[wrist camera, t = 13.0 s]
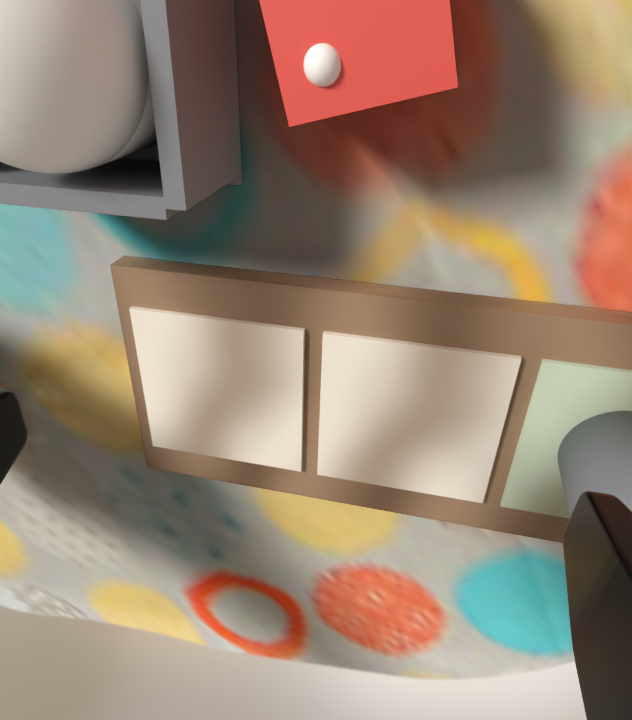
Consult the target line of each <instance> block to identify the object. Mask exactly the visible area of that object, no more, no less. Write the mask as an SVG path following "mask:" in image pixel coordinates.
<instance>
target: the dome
mask: <svg viewBox="0 0 632 720" xmlns="http://www.w3.org/2000/svg"><path fill="white" fill-rule="evenodd" d="M155 144H157V136H156V128H155V120H154V111H153V103H152V95H151V86H150V78H149V69H148V61H147V53H146V44H145V36H144V28H143V19H142V11H141V3H140V0H0V162H2V163H5V164H7V165H10V166H13V167H16V168H20V169H23V170H28V171H33V172H40V173H53V174H61V173H74V172H80V171H84V170H88V169H91V168H94V167H97V166H100V165H103V164H106V163H108V162H111V161H114V160H117V159H119V158H122V157H125V156H127V155H130V154H133V153H135V152H138V151H141V150H144V149H146V148H149V147H151V146H153V145H155Z"/></svg>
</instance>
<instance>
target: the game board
mask: <svg viewBox="0 0 632 720" xmlns="http://www.w3.org/2000/svg"><path fill="white" fill-rule="evenodd" d="M110 266H111V272H112V277H113V283H114V288H115V294H116V299H117V305H118V310H119V315H120V321H121V326H122V332H123V337H124V343H125V348H126V353H127V359H128V364H129V370H130V375H131V381H132V386H133V392H134V397H135V402H136V408H137V413H138V419H139V424H140V430H141V435H142V441H143V446H144V451H145V457H146V462H147V468H153V469H158V470H164V471H169V472H175V473H180V474H186V475H191V476H197V477H202V478H208V479H214V480H219V481H225V482H230V483H236V484H241V485H247V486H252V487H258V488H263V489H269V490H274V491H280V492H285V493H291V494H296V495H302V496H307V497H313V498H318V499H324V500H329V501H335V502H340V503H346V504H351V505H357V506H362V507H368V508H373V509H379V510H384V511H390V512H395V513H401V514H406V515H412V516H417V517H423V518H428V519H434V520H440V521H445V522H451V523H456V524H462V525H467V526H473V527H478V528H484V529H489V530H495V531H500V532H506V533H511V534H517V535H522V536H528V537H533V538H539V539H544V540H550V541H555V542H561V543H563V538H564V532H565V528H566V526H567V524H568V521H569V519H570V515H569V511H568V506H567V502H566V497H565V493H564V488H563V484H562V479H561V475H560V470H559V466H558V459H557V457H558V450H559V446H560V444H561V442H562V440H563V439H564V437H565V436H566V435H567V434H568V432H569V431H570V430H571V429H573V428H574V427H575V426H576V425H578V424H579V423H581V422H582V421H584V420H586V419H588V418H591V417H593V416H596V415H599V414H603V413H607V412H613V411H632V312H625V311H616V310H607V309H598V308H589V307H580V306H571V305H562V304H553V303H544V302H535V301H526V300H517V299H508V298H499V297H490V296H481V295H472V294H463V293H454V292H445V291H436V290H427V289H418V288H409V287H400V286H391V285H382V284H373V283H364V282H355V281H346V280H337V279H328V278H319V277H310V276H301V275H292V274H283V273H274V272H265V271H256V270H247V269H238V268H229V267H220V266H211V265H202V264H193V263H184V262H175V261H166V260H157V259H148V258H139V257H130V256H123V257H122V258H120V259H119V260H117V261H116V262H114V263H113V264H111V265H110Z"/></svg>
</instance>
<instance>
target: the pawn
mask: <svg viewBox="0 0 632 720" xmlns="http://www.w3.org/2000/svg"><path fill="white" fill-rule="evenodd" d="M557 459H558V466H559V470H560V475H561V479H562V484H563V488H564V493H565V497H566V502H567V506H568V511H569V515H570V517H571V514H572V512H573V510H574V508H575V505H576V503H577V501H578V498H579V497H580V495H581V494H582V493H583V492H585V491H594V492H600V493H605V494H611V495H614V496H616V497H617V498H618V499H619V500H621V501H622V502H623V503H624V504H625V505H626V506H627V507H628V508H629V509H630V510H631V511H632V411H613V412H607V413H603V414H599V415H596V416H593V417H591V418H588V419H586V420H584V421H582V422H581V423H579V424H578V425H576V426H575V427H574V428H573V429H571V430H570V431H569V432H568V434H567V435H566V436H565V437H564V439H563V440H562V442H561V444H560V446H559V450H558V457H557Z"/></svg>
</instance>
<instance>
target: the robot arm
mask: <svg viewBox="0 0 632 720" xmlns="http://www.w3.org/2000/svg"><path fill="white" fill-rule="evenodd" d="M26 440H27V427H26V423H25V420H24V416H23V413H22V409H21V406H20V402H19V399H18V397H17V396H16V395H15V394H14V393H12V392H10V391H5V390H0V484H1V483H2V481H3V479H4V478H5V476H6V474H7V473H8V471H9V470H10V468H11V466H12V465H13V463H14V461H15V460H16V458H17V457H18V455H19V453H20V452H21V450H22V449H23V447H24V445H25V443H26ZM563 547H564V559H565V570H566V582H567V593H568V604H569V616H570V627H571V636H572V645H573V652H574V657H575V663H576V668H577V673H578V677H579V683H580V688H581V692H582V697H583V702H584V707H585V712H586V717H587V720H632V511H631V510H630V509H629V508H628V507H627V506H626V505H625V504H624V503H623V502H622V501H621V500H619V499H618V498H617V497H616V496H614V495H611V494H605V493H600V492H594V491H585V492H583V493H582V494H581V495H580V497H579V498H578V501H577V503H576V505H575V508H574V510H573V512H572V514H571V517H570V519H569V521H568V524H567V526H566V528H565V532H564V538H563Z"/></svg>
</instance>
